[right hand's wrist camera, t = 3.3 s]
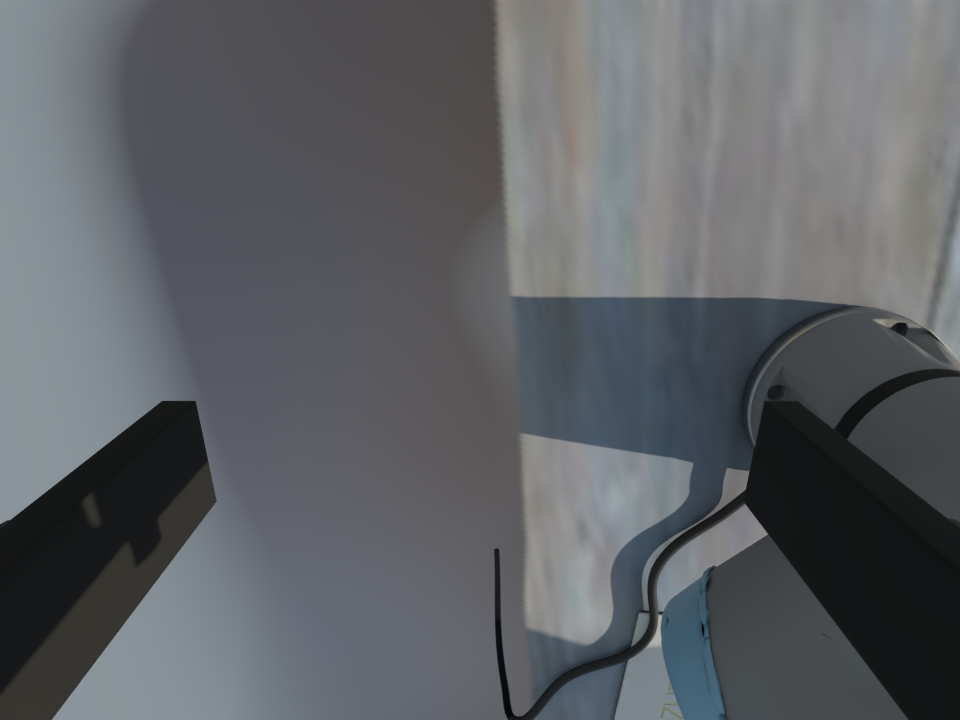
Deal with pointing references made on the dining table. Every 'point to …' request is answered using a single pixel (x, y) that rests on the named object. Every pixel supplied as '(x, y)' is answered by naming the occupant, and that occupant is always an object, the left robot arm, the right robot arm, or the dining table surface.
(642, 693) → the invitation card
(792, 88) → the dining table surface
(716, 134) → the dining table surface
